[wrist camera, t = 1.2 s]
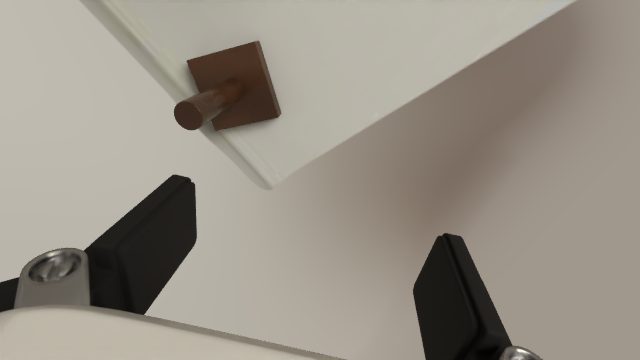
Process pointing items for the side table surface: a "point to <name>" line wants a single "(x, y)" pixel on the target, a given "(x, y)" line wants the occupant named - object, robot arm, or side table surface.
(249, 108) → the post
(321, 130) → the side table surface
